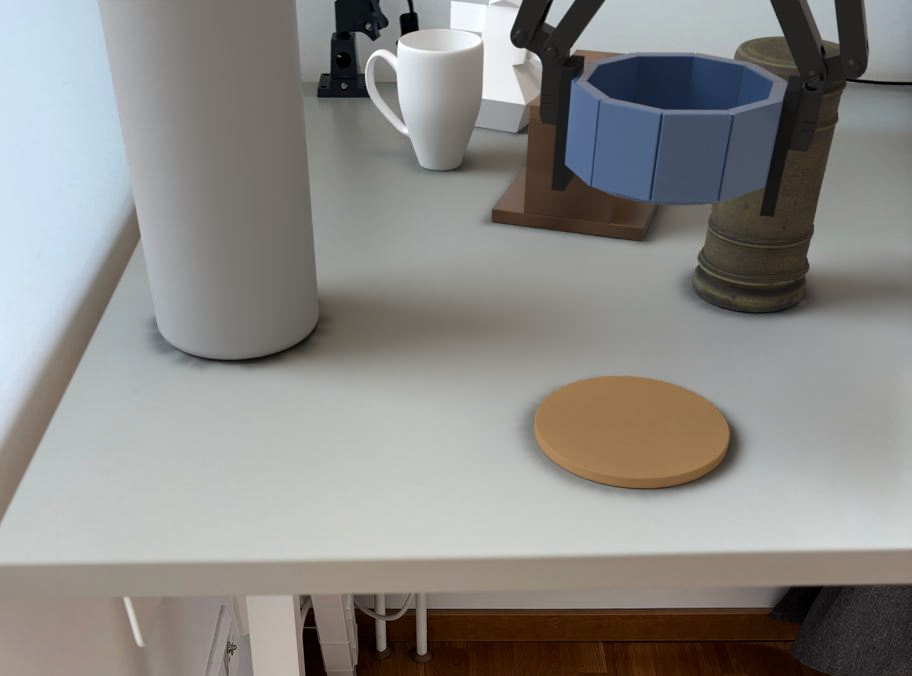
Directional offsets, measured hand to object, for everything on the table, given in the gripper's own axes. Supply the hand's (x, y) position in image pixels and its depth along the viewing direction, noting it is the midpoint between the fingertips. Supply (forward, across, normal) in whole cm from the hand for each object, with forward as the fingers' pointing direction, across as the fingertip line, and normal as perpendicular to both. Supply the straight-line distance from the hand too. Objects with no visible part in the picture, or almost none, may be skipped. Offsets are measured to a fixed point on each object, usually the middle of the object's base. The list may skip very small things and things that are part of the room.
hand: (663, 195), depth 63 cm
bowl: (-1, 0, 0) cm, 1 cm away
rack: (+16, -12, +41) cm, 46 cm away
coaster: (+16, 0, 0) cm, 16 cm away
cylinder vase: (+16, -32, +6) cm, 36 cm away
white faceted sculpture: (+16, -26, +60) cm, 67 cm away
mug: (+16, -30, +45) cm, 56 cm away
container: (+16, +5, +25) cm, 30 cm away
